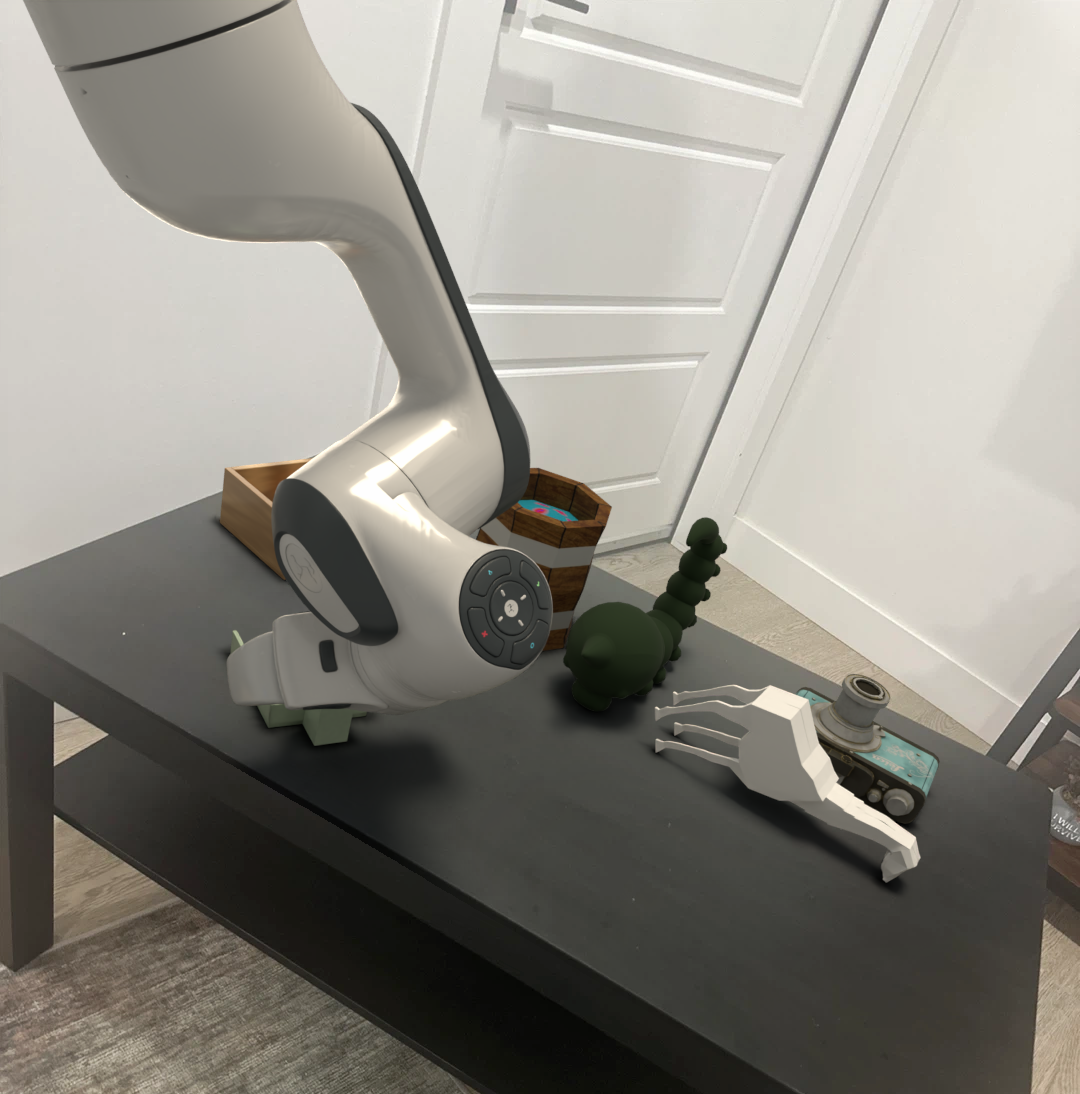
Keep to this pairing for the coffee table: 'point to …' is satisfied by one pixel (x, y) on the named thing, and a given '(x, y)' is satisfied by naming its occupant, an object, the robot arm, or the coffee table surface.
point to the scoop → (307, 716)
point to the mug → (554, 539)
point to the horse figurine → (791, 764)
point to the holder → (254, 504)
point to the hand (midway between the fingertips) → (331, 678)
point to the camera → (871, 749)
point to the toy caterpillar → (641, 629)
